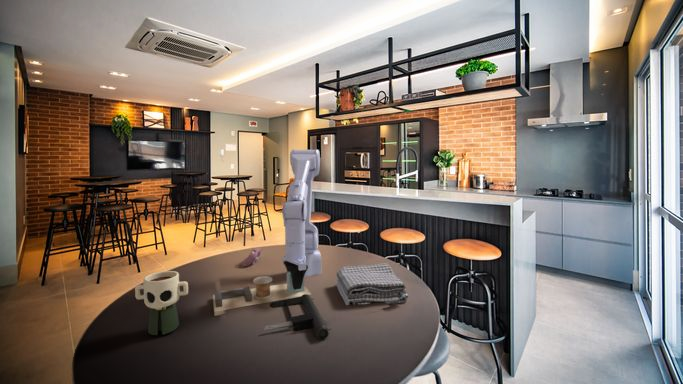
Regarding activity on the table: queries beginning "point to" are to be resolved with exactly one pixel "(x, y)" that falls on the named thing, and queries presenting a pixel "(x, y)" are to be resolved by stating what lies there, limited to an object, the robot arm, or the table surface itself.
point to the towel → (370, 285)
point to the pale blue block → (290, 285)
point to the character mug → (162, 300)
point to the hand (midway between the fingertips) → (295, 286)
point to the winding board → (252, 295)
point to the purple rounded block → (252, 257)
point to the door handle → (300, 317)
